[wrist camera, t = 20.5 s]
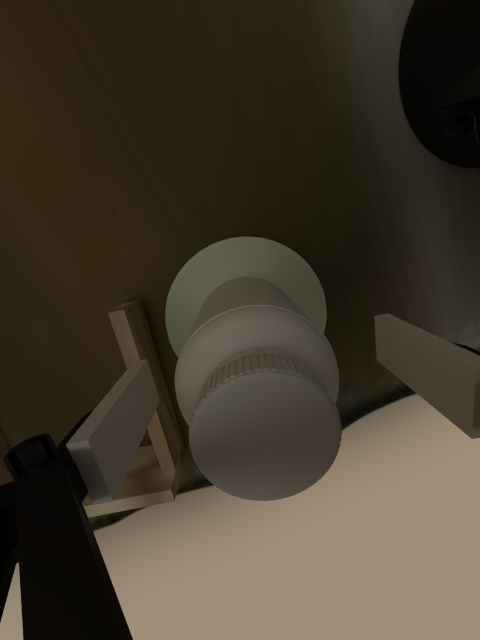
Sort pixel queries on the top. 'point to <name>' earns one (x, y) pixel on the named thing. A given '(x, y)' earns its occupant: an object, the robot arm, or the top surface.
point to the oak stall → (168, 447)
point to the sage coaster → (241, 261)
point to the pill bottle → (258, 392)
